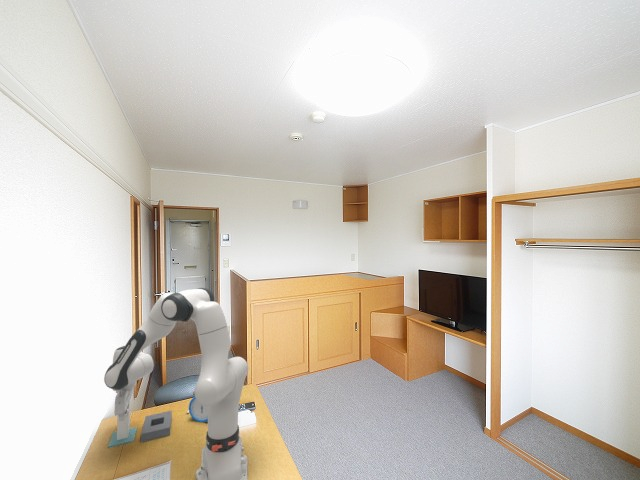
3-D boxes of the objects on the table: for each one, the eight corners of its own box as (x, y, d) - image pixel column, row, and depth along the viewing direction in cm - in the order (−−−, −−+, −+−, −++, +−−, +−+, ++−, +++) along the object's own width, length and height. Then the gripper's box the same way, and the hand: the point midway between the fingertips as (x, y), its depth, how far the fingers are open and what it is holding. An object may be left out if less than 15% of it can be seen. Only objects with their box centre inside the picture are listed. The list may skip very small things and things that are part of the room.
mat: (133, 442, 120) (133, 440, 120) (107, 449, 116) (107, 446, 116) (137, 428, 129) (137, 426, 129) (113, 434, 125) (113, 432, 125)
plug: (127, 437, 122) (128, 410, 122) (116, 440, 120) (117, 413, 120) (129, 432, 125) (130, 406, 125) (119, 434, 124) (119, 408, 124)
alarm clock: (188, 422, 134) (188, 390, 135) (195, 414, 140) (195, 384, 141) (213, 424, 133) (214, 392, 133) (219, 416, 139) (220, 386, 139)
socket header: (169, 436, 124) (169, 427, 124) (140, 443, 119) (140, 434, 120) (171, 418, 137) (171, 410, 137) (145, 424, 132) (145, 416, 132)
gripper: (128, 391, 115) (128, 425, 115) (137, 371, 134) (136, 401, 133) (109, 395, 112) (109, 430, 112) (121, 374, 131) (120, 404, 131)
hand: (124, 414), depth 123 cm, fingers open, 8 cm apart
